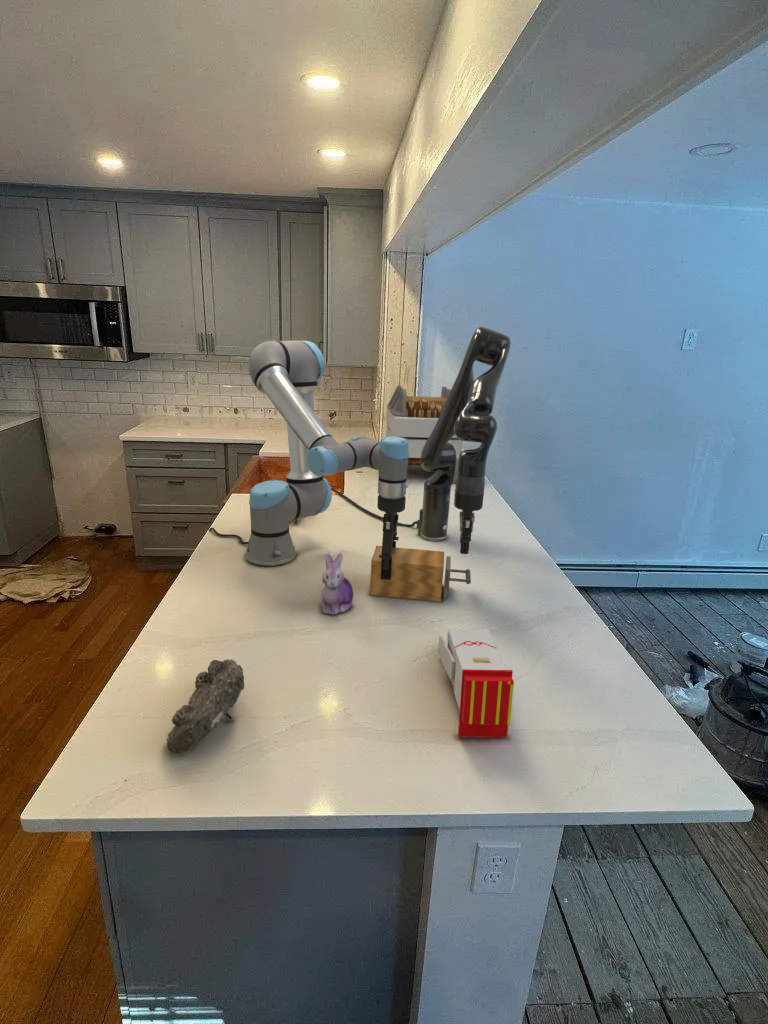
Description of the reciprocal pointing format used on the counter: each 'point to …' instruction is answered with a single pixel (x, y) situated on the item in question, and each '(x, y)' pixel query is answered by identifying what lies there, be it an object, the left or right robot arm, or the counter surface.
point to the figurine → (335, 587)
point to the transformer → (417, 422)
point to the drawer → (447, 578)
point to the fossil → (206, 705)
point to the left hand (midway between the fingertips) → (388, 570)
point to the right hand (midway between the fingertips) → (463, 548)
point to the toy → (478, 682)
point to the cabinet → (409, 574)
